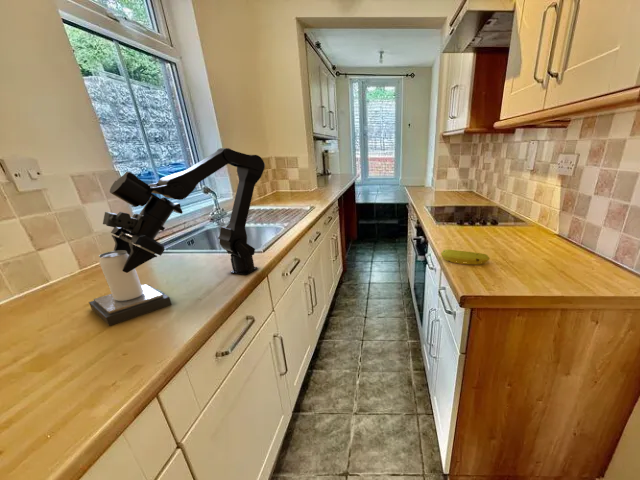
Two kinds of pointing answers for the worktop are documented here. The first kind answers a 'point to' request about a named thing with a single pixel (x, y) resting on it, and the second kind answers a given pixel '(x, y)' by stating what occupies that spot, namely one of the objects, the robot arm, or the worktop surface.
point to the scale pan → (115, 306)
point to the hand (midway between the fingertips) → (118, 268)
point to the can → (120, 276)
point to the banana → (464, 257)
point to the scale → (131, 309)
